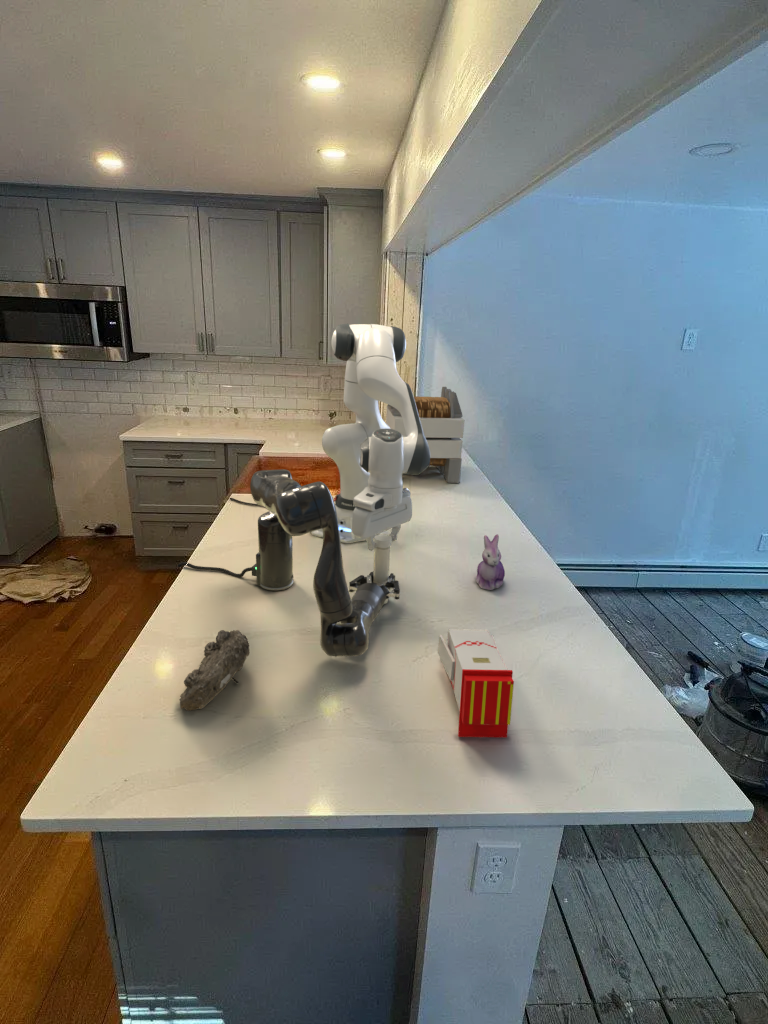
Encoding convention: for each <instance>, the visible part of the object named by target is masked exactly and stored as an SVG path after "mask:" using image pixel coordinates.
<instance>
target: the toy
mask: <svg viewBox="0 0 768 1024" xmlns="http://www.w3.org/2000/svg"><path fill="white" fill-rule="evenodd" d="M446 640H447V643H446V641H445V639H444V636H443V635H442V634H439V637H438V646H437V656H438V657H439V659H440V661H441V663H442V666H443V668H444V670H445V672H446V674H447V677H448V679H449V681H450V684H451V687H452V690H453V693H454V697H455V701H456V705H457V708H458V711H459V714H458V715H459V716H458V730H457V731H458V732H457V737H458V738H508V731H509V726H510V725H511V717H512V707H513V697H514V696H513V695H514V684H515V680H514V679H513V673H514V671H513V670H512V669H508V667H507V665H506V662H505V661H504V659H503V658H502V655H501V653H500V651H499V649H498V647H497V643H496V639H495V637H494V635H493V634H491V632H490V631H489V629H467V628H466V629H465V628H463V629H461V628H460V629H459V628H448V630H447V639H446Z"/></svg>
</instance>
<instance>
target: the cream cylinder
mask: <svg viewBox="0 0 768 1024" xmlns="http://www.w3.org/2000/svg"><path fill="white" fill-rule="evenodd" d="M390 564H391V546H390V547H387V548H380V547H376V549H375V550H373V571H372V572H373V582H374V583H381V582H382V581H384V580H385V581H386V580H387V579H388V577H389V576H390V566H391V565H390ZM388 601H389V598H388V599H386V600H385V602H384V604H383V605H386V604H387V603H388Z"/></svg>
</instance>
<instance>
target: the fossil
mask: <svg viewBox="0 0 768 1024" xmlns="http://www.w3.org/2000/svg"><path fill="white" fill-rule="evenodd" d="M203 653H204V654H203V656H204V658H203V659H202V660H201V662H200V664H199V666H198V669H197V668H196V669H193V670H192V671H191V672H189V673H188V674H187V675H186V677H185V678H184V680H183V684H184V686H185V687H186V688H185V689H184V690H183V692H182V693H181V694H180V696H179V697H180V698H179V704H180V709H185V710H186V712H187V711H188V712H191V711H194V710H195V711H196V710H199V709H200V710H202V709H204V708H205V707H206V706H207V705H208V704H209V703H210V702H211V701H213V700H214V699H215V697H217V696H218V695H219V694H220V693H221V692H222V691H223V690H225V689H226V687H227V686H228V683H229V682H231V680H232V681H233V682H234V683H235V684H239V681H238V680H237V679H236V677H234V676H235V674H236V673H238V672H240V670H241V669H242V668H243V666H244V663H245V661H246V660H247V657H249V656H250V642H249V639H248V637H247V636H246V635H245V634H243V633H242V632H241V631H240V630H239V629H235V630H234V629H233V630H230V631H228V630H224V629H220V630H219V631H218V632H217V635H216V637H215V641H210V642H207V643H206V644H205V646H204V650H203Z"/></svg>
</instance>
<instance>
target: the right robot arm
mask: <svg viewBox="0 0 768 1024" xmlns="http://www.w3.org/2000/svg"><path fill="white" fill-rule="evenodd" d="M330 344H331V349H332V352H333V356H335V358H336V359H337V360H340V361H343V362H346V365H345V371H344V382H343V383H344V385H343V404H344V406H345V407H346V408H347V410H349V411H350V412H352V413H354V415H355V422H354V423H353V422H352V423H344V424H343V423H342V424H337V425H335V426H332V427H328V428H327V429H325V430H324V432H323V434H322V437H321V447H322V450H323V452H324V453H325V455H326V456H328V457H329V458H330V459H332V461H333V462H334V463H335V465H336V466H337V470H338V473H339V482H340V484H339V485H340V488H339V489H340V490H339V491H338V492H337V494H336V495H335V496H334V497H333V500H334V503H335V507H336V512H337V519H338V526H339V534H340V542H341V543H343V544H352V543H357V542H365V541H366V543H367V550H369V551H371V552H372V551H374V550H375V549H376V546H377V543H375V542H374V537H375V535H378V534H382V533H384V532H386V531H388V530H390V533H388V535H389V536H391V537H392V543H393V542H396V541H397V540H398V534H399V533H400V530H401V528H402V525H403V524H406V523H408V522H411V519H412V517H413V502H412V498H411V491H410V489H408V487H404V481H403V475H402V473H403V474H405V475H412V476H413V475H414V476H419V475H420V474H422V473H424V471H426V470H427V469H428V467H430V466H429V464H430V450H429V446H428V443H427V440H426V438H425V435H424V432H423V429H422V425H421V422H420V418H419V414H418V410H417V407H416V403H415V399H414V396H415V395H414V392H413V391H412V388H411V386H410V383H407V382H406V381H404V380H403V378H402V377H401V376H400V374H399V371H398V369H397V363H398V362H399V361H401V360H402V359H403V358H404V355H405V352H406V351H407V340H406V334H405V332H404V331H403V329H402V328H401V327H397V326H394V325H391V326H388V325H383V324H377V323H370V324H369V323H368V324H367V323H356V324H349V323H341V324H338V325H337V326H336V327H335V328H334V330H333V333H332V336H331V341H330ZM379 402H381V403H384V404H386V405H391V406H392V407H394V408H396V409H397V410H398V411H399V412H400V414H401V416H402V420H403V424H404V427H405V431H406V435H407V437H403V436H402V434H401V433H400V432H398V431H396V430H393V429H390V427H389V426H388V425H387V423H386V421H385V420H384V419H383V417H382V415H381V412H380V408H379V407H380V406H379ZM229 500H230V501H233V502H236V503H240V504H242V505H248V506H256V507H264V506H262V505H258V504H257V503H254V502H253V503H252V502H246V501H241V500H239V499H237V498H233V497H229ZM264 508H265V507H264ZM310 533H311V536H315V537H319V538H323V530H322V529H319V530H316V531H313V532H310Z"/></svg>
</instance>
